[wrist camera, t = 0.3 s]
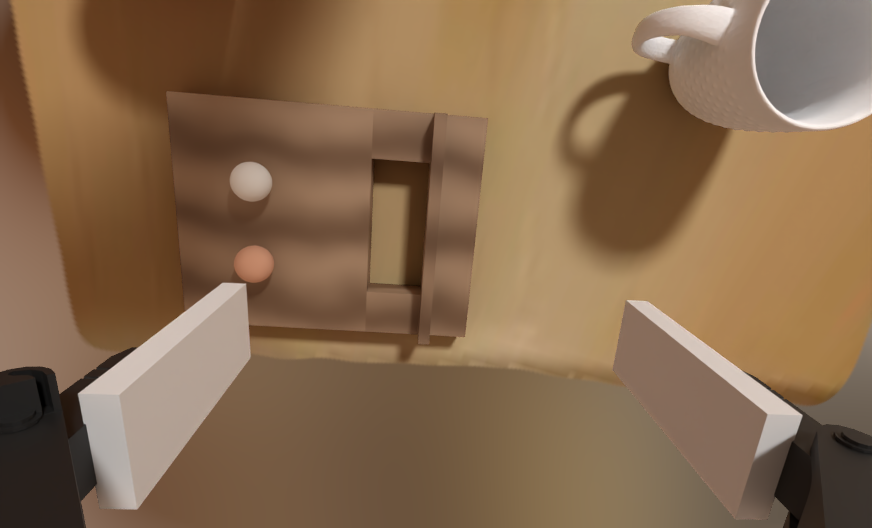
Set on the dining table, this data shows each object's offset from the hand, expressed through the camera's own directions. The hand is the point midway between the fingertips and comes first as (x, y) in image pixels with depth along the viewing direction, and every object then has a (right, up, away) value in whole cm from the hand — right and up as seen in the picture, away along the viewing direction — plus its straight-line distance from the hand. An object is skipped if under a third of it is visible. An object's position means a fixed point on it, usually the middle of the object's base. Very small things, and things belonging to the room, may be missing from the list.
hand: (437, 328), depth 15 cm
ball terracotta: (-16, +2, +23) cm, 28 cm away
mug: (+23, +20, +24) cm, 38 cm away
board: (-10, +6, +26) cm, 28 cm away
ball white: (-15, +9, +21) cm, 27 cm away
